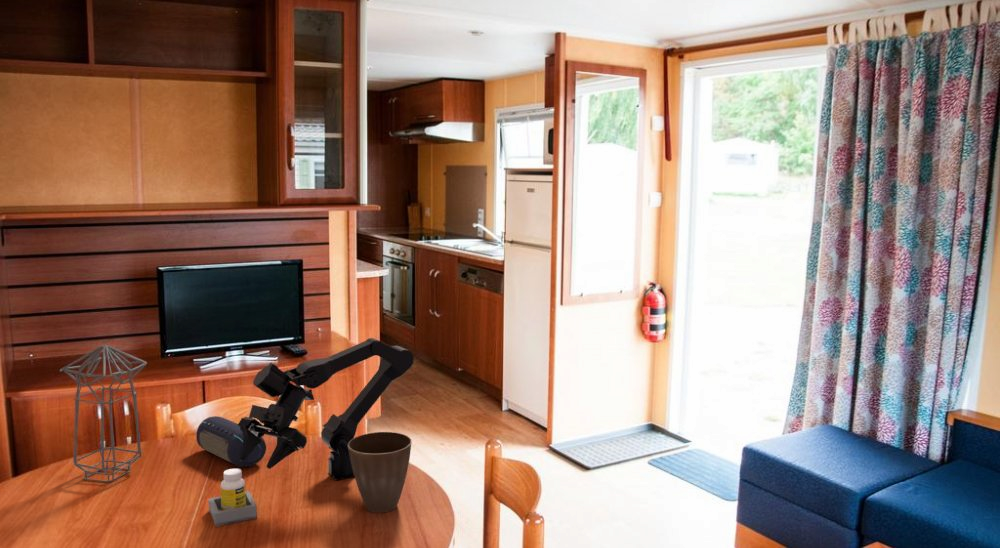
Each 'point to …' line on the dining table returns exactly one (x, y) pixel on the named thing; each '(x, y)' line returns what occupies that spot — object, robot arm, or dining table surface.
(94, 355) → the geometric lantern
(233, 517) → the can holder
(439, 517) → the dining table surface
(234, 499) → the supplement bottle
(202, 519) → the dining table surface
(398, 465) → the plant pot
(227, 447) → the portable speaker
